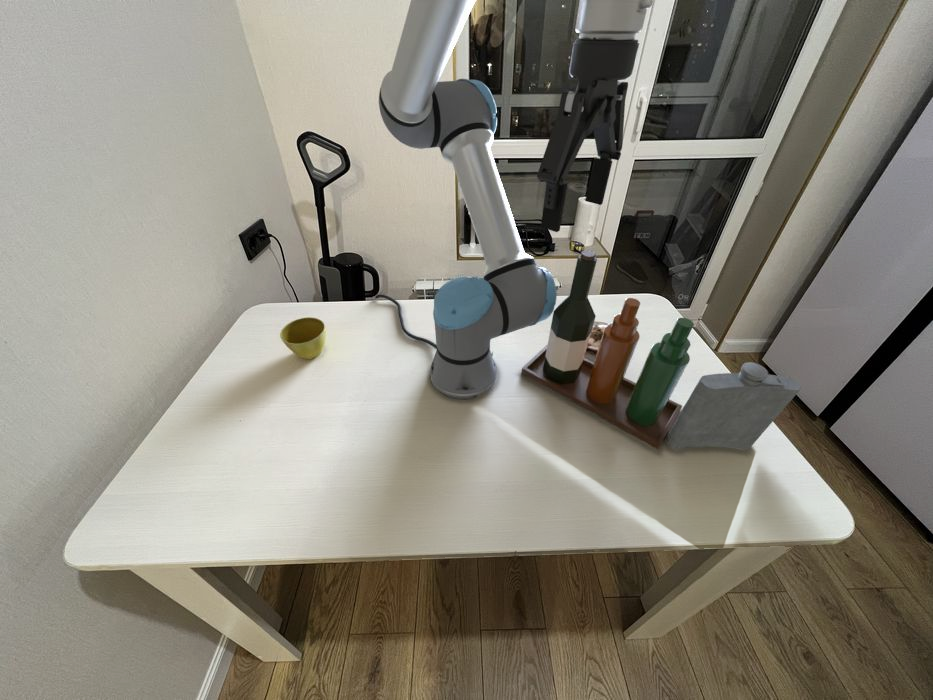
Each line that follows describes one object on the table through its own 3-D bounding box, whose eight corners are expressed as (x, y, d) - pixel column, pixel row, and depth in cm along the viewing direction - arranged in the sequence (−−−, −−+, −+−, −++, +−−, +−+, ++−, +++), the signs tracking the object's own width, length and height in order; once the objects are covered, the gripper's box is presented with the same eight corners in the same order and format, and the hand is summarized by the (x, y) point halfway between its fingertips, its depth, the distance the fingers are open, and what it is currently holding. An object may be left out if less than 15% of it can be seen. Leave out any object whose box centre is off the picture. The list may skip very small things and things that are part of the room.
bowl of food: (558, 349, 95) (560, 336, 92) (576, 318, 104) (579, 306, 102) (618, 369, 89) (623, 357, 86) (631, 335, 99) (635, 322, 96)
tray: (520, 375, 88) (521, 368, 86) (549, 348, 95) (550, 341, 94) (656, 451, 72) (660, 445, 71) (678, 412, 80) (682, 405, 78)
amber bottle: (580, 394, 83) (607, 303, 67) (594, 378, 86) (622, 288, 70) (608, 408, 79) (643, 317, 63) (620, 391, 83) (657, 300, 67)
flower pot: (298, 372, 89) (288, 349, 84) (283, 350, 95) (274, 328, 90) (338, 354, 93) (331, 332, 89) (322, 334, 99) (314, 312, 95)
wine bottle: (579, 387, 84) (614, 267, 64) (541, 381, 85) (564, 262, 65) (579, 362, 90) (610, 245, 70) (543, 357, 91) (565, 241, 71)
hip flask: (667, 450, 73) (712, 378, 59) (660, 433, 76) (701, 360, 62) (751, 452, 72) (815, 380, 59) (740, 434, 75) (798, 362, 62)
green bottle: (619, 415, 78) (658, 323, 62) (632, 397, 82) (672, 306, 66) (650, 432, 75) (700, 339, 59) (662, 412, 79) (711, 321, 63)
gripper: (585, 42, 35) (551, 250, 49) (676, 34, 49) (629, 198, 64) (519, 39, 39) (505, 234, 53) (621, 32, 53) (589, 188, 67)
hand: (573, 215), depth 58 cm, fingers open, 13 cm apart
